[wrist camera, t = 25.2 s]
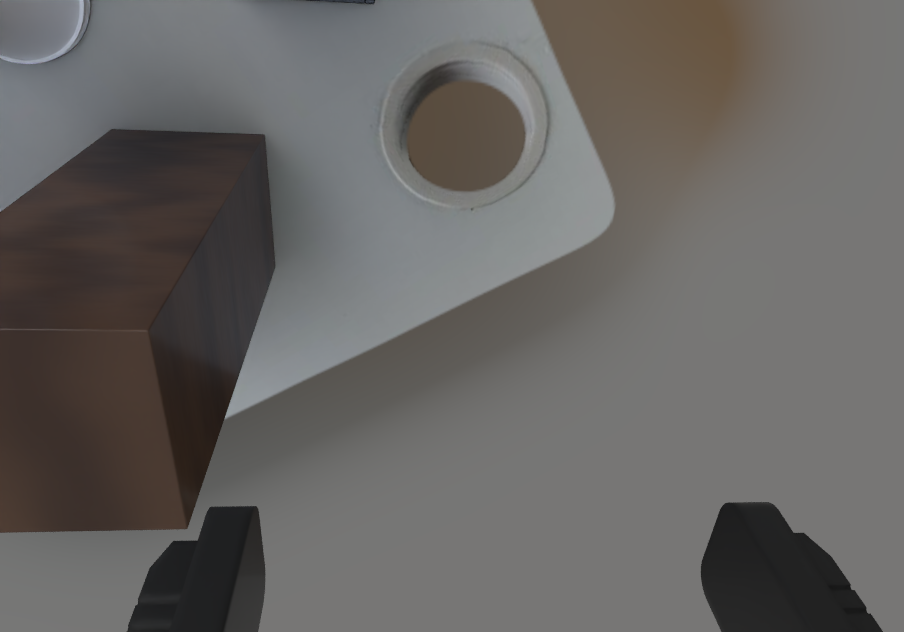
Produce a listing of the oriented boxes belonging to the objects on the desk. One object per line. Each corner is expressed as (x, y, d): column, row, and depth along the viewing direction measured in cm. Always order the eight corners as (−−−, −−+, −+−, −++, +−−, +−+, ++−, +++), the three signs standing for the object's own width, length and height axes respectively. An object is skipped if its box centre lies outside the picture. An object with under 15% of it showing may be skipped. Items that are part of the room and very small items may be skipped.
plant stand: (264, 134, 41) (148, 330, 22) (275, 266, 46) (187, 529, 26) (111, 128, 41) (-157, 327, 21) (137, 264, 45) (-62, 534, 25)
